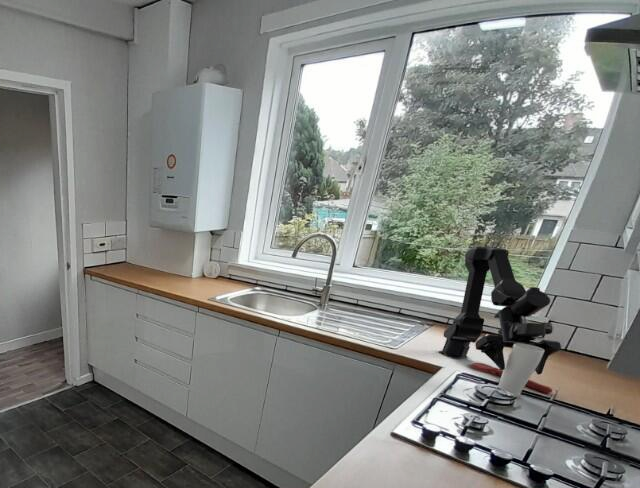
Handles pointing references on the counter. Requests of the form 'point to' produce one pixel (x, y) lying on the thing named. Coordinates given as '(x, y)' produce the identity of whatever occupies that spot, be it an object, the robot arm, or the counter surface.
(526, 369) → the drinking glass
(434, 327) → the counter surface
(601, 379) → the counter surface
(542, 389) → the red long flat piece
